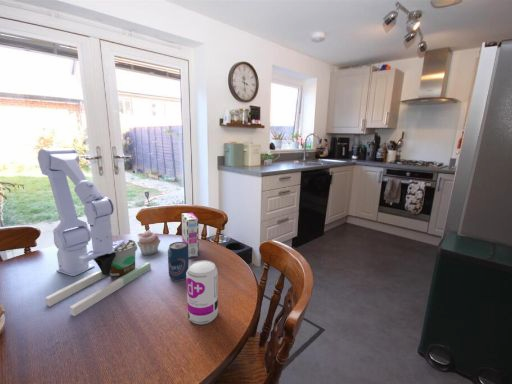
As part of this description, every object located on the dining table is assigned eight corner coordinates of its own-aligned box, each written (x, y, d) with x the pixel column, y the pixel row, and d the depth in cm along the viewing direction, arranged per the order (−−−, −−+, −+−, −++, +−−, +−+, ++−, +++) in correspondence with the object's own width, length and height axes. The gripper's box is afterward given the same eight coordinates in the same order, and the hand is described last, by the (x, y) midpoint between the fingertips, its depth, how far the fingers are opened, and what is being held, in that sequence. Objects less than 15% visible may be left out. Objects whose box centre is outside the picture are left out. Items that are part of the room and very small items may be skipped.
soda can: (167, 282, 86) (166, 250, 84) (170, 272, 93) (168, 241, 90) (188, 280, 87) (187, 248, 85) (189, 270, 94) (188, 240, 92)
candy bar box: (199, 256, 106) (198, 219, 102) (187, 258, 103) (186, 220, 100) (193, 246, 115) (192, 211, 112) (182, 248, 113) (180, 213, 110)
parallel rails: (46, 305, 73) (45, 297, 73) (126, 262, 99) (126, 256, 98) (74, 316, 69) (73, 308, 68) (150, 268, 95) (150, 262, 94)
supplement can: (203, 330, 65) (202, 277, 62) (181, 318, 69) (179, 268, 66) (223, 313, 72) (223, 264, 69) (202, 302, 76) (201, 256, 73)
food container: (123, 282, 86) (120, 254, 84) (107, 279, 87) (104, 252, 85) (145, 264, 98) (144, 240, 95) (131, 263, 99) (129, 239, 97)
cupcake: (165, 248, 112) (164, 227, 110) (152, 258, 103) (151, 235, 101) (147, 246, 114) (145, 225, 112) (132, 255, 105) (130, 232, 103)
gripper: (88, 246, 73) (93, 288, 76) (129, 230, 86) (132, 266, 89) (72, 242, 75) (77, 283, 78) (114, 227, 89) (118, 262, 91)
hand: (106, 274), depth 84 cm, fingers closed
